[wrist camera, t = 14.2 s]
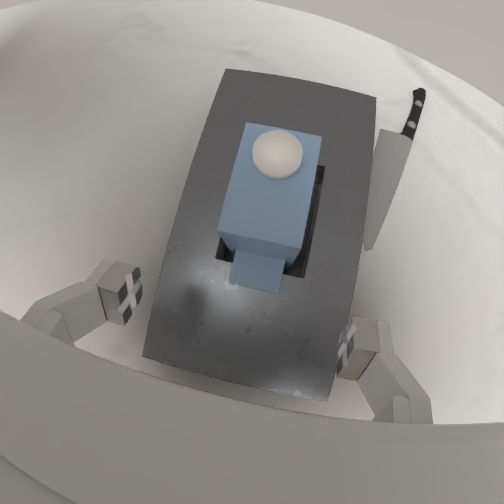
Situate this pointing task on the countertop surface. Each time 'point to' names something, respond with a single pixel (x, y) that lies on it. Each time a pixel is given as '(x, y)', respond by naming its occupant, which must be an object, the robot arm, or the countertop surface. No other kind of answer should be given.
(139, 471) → the robot arm
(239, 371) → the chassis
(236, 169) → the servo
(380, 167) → the chef's knife
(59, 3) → the countertop surface
